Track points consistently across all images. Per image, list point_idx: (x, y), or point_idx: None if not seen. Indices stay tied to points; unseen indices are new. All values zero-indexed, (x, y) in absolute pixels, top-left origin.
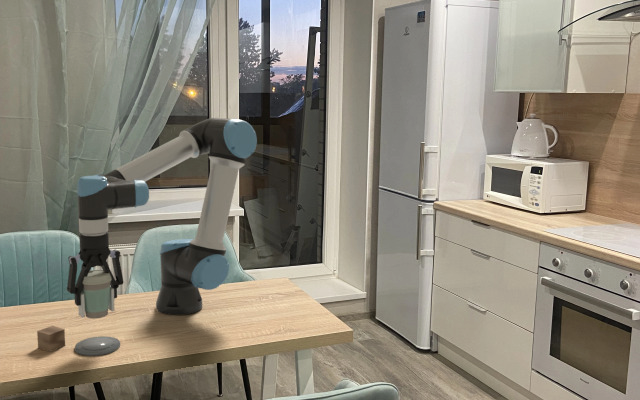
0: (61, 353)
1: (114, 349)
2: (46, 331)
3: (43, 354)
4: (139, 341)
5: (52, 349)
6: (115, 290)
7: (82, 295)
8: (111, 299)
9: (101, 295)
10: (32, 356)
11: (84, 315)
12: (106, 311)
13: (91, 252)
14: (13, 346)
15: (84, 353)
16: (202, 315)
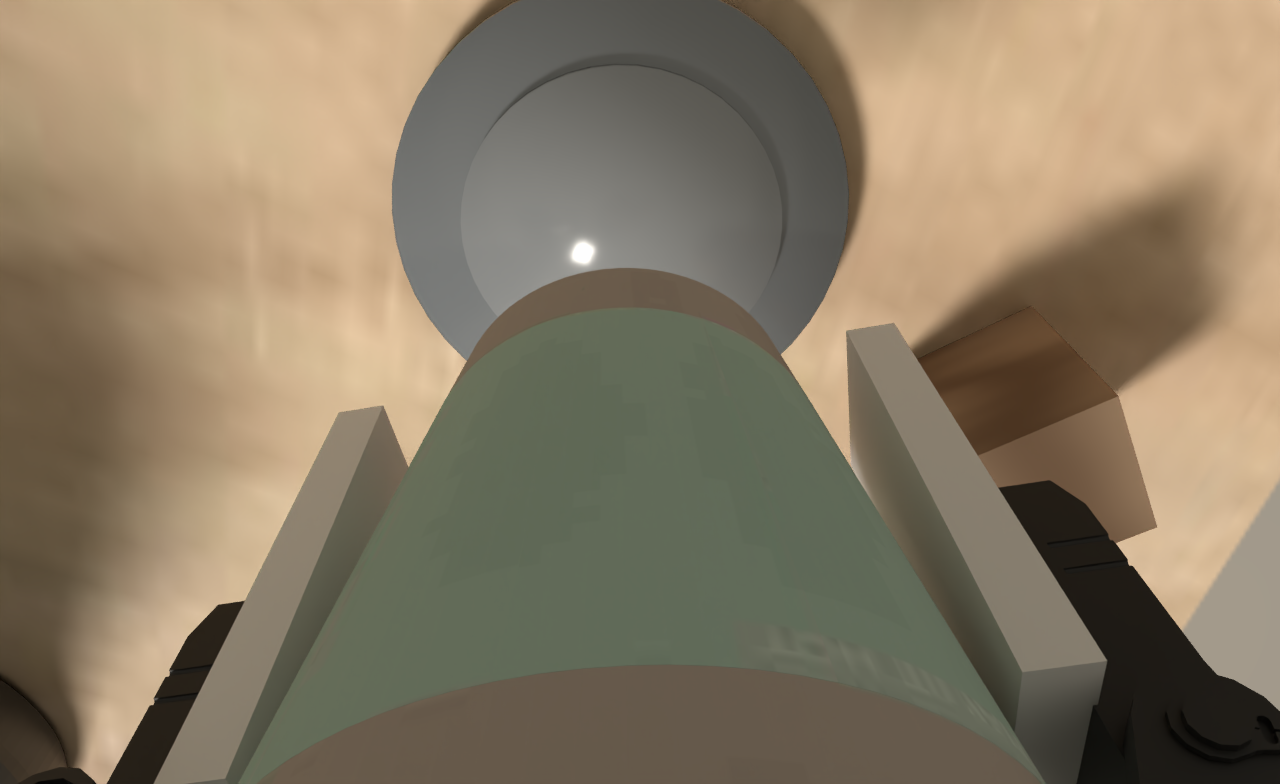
0: (965, 223)
1: (473, 29)
2: (1095, 486)
3: (1102, 271)
4: (189, 184)
5: (1010, 324)
6: (153, 759)
7: (1064, 643)
8: (321, 561)
9: (551, 515)
10: (1196, 268)
11: (864, 345)
12: (477, 355)
13: None
14: (1200, 516)
15: (800, 64)
16: None
